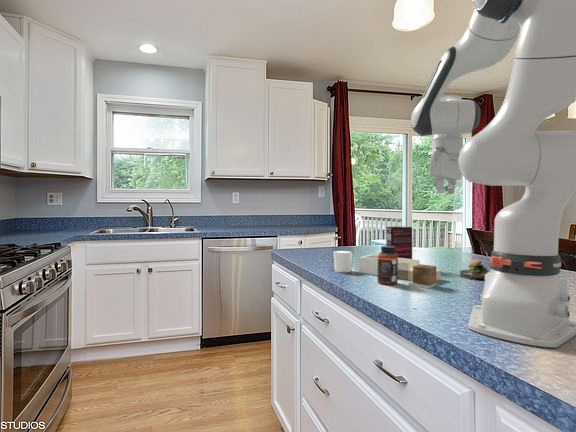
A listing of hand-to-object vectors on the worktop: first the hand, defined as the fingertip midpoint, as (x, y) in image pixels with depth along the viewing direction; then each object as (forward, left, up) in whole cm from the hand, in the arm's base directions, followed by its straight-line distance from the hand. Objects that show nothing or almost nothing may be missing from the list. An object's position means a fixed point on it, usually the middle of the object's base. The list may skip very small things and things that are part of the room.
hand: (445, 193), depth 112 cm
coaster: (-12, +2, -28) cm, 30 cm away
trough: (-4, +14, -28) cm, 31 cm away
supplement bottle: (-17, +11, -28) cm, 35 cm away
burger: (+13, -7, -28) cm, 32 cm away
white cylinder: (-10, +32, -28) cm, 44 cm away
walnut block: (-12, +1, -27) cm, 30 cm away
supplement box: (+10, +20, -28) cm, 36 cm away
